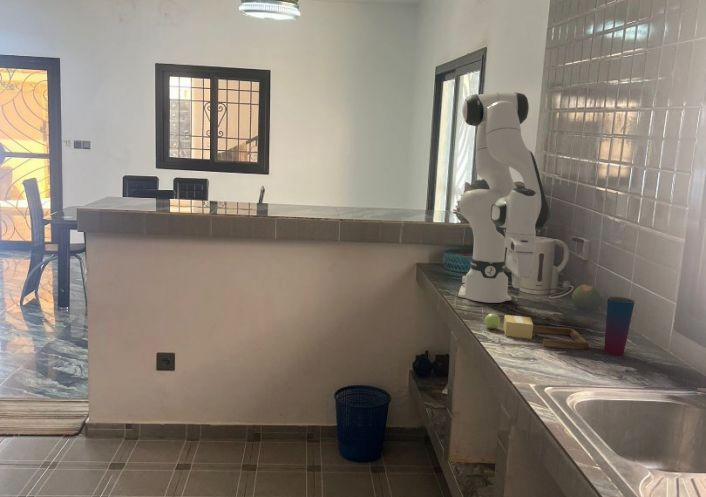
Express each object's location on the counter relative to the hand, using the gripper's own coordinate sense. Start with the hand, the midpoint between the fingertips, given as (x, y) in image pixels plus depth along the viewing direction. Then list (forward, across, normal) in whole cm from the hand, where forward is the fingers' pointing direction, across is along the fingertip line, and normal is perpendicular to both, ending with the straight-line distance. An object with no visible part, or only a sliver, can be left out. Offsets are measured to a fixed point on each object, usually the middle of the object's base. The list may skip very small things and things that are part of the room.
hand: (515, 287), depth 196 cm
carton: (+12, +8, 0) cm, 15 cm away
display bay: (+12, +12, +10) cm, 20 cm away
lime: (+12, +5, -7) cm, 15 cm away
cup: (+13, +20, +24) cm, 34 cm away
